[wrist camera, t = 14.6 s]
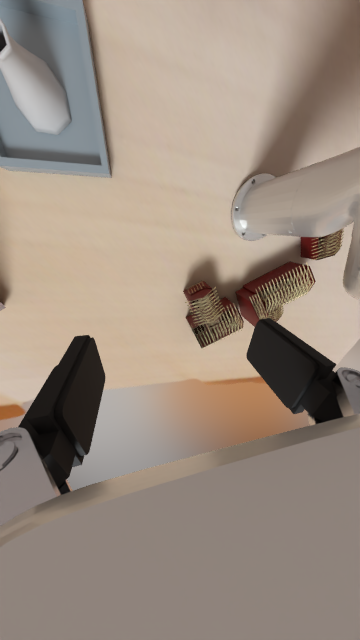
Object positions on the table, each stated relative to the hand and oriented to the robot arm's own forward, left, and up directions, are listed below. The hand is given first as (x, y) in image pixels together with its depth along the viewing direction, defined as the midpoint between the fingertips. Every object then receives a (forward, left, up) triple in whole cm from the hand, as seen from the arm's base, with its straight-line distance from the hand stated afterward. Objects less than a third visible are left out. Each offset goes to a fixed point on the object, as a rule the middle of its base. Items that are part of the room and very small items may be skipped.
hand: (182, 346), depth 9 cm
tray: (+14, -22, -33) cm, 42 cm away
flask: (+14, -22, -33) cm, 41 cm away
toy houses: (-30, +8, -34) cm, 46 cm away
